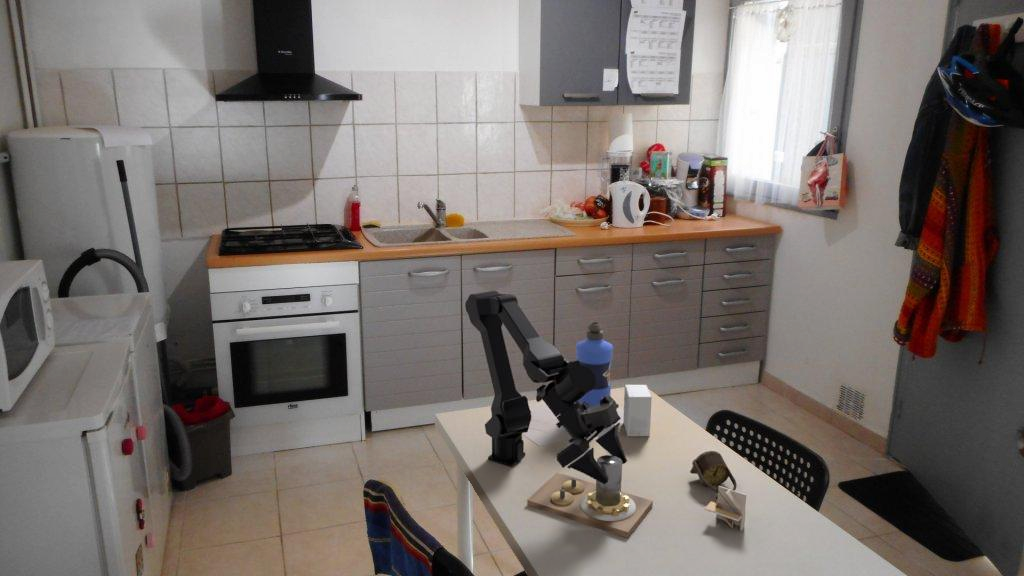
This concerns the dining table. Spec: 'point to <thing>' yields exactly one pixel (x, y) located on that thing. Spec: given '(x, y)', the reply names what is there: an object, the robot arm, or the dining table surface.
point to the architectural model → (729, 507)
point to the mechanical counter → (712, 470)
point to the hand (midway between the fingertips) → (616, 472)
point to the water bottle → (596, 362)
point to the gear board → (571, 503)
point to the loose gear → (609, 489)
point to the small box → (637, 410)
